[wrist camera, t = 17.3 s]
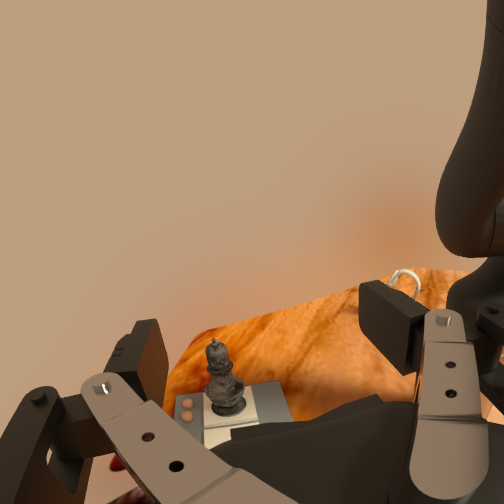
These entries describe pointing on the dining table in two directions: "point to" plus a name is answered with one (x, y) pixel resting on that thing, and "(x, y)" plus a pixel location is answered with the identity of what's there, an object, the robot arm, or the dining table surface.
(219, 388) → the salt shaker
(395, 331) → the robot arm
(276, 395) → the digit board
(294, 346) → the dining table surface
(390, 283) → the watch
